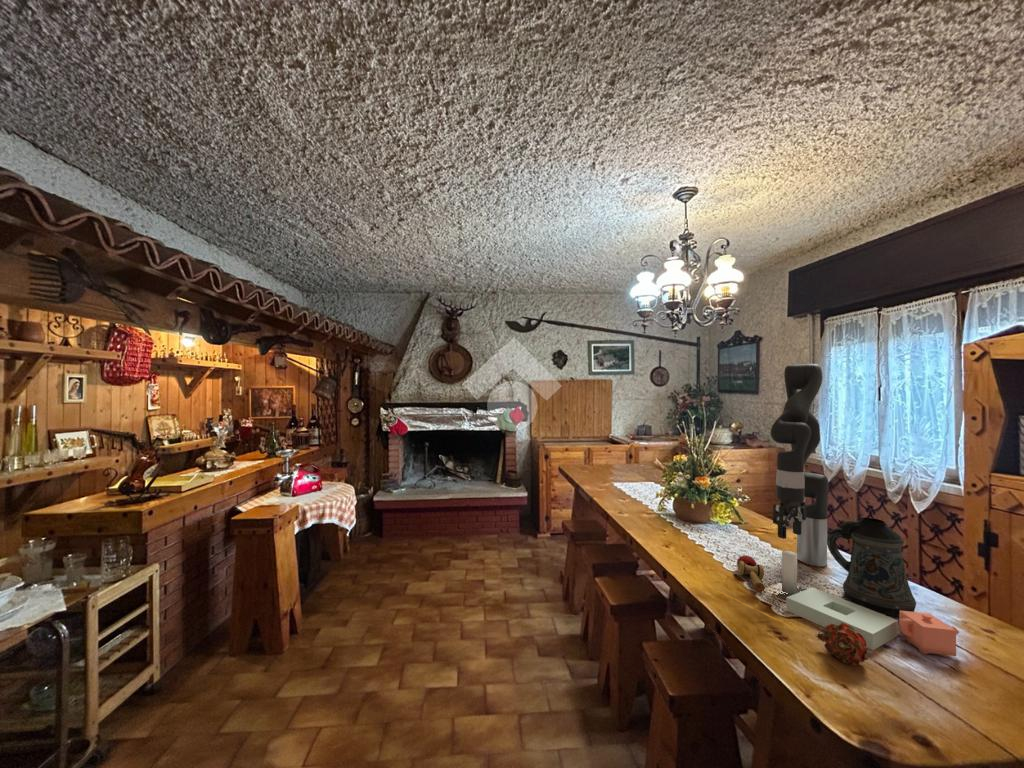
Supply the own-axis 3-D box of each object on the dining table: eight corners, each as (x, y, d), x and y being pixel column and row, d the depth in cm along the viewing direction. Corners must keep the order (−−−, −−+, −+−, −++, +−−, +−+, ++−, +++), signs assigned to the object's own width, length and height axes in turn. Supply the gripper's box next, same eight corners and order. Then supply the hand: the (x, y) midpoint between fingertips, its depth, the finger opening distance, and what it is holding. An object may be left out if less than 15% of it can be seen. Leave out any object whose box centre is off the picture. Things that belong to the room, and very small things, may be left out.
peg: (786, 587, 132) (786, 549, 132) (799, 592, 128) (799, 554, 129) (779, 589, 130) (779, 551, 130) (792, 595, 126) (792, 556, 127)
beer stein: (932, 622, 113) (932, 532, 114) (852, 613, 117) (852, 526, 118) (890, 594, 130) (890, 515, 130) (821, 587, 134) (821, 510, 134)
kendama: (776, 597, 127) (758, 567, 144) (772, 578, 127) (755, 550, 144) (748, 598, 129) (734, 569, 147) (745, 579, 129) (731, 552, 146)
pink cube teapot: (972, 662, 96) (972, 627, 97) (912, 655, 99) (912, 620, 99) (944, 643, 104) (944, 610, 104) (890, 636, 106) (890, 604, 107)
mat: (785, 581, 137) (785, 580, 137) (818, 594, 128) (818, 593, 128) (760, 590, 130) (760, 589, 130) (794, 604, 121) (794, 603, 122)
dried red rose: (851, 682, 91) (831, 658, 102) (888, 665, 89) (864, 643, 100) (823, 643, 94) (806, 624, 105) (858, 626, 92) (837, 609, 103)
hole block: (812, 600, 124) (812, 587, 124) (897, 635, 107) (897, 620, 107) (786, 611, 118) (786, 597, 118) (872, 650, 100) (872, 634, 100)
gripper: (789, 480, 137) (789, 529, 136) (764, 484, 130) (764, 535, 130) (815, 485, 130) (814, 536, 130) (790, 489, 123) (789, 543, 123)
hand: (789, 536), depth 130 cm, fingers open, 8 cm apart
